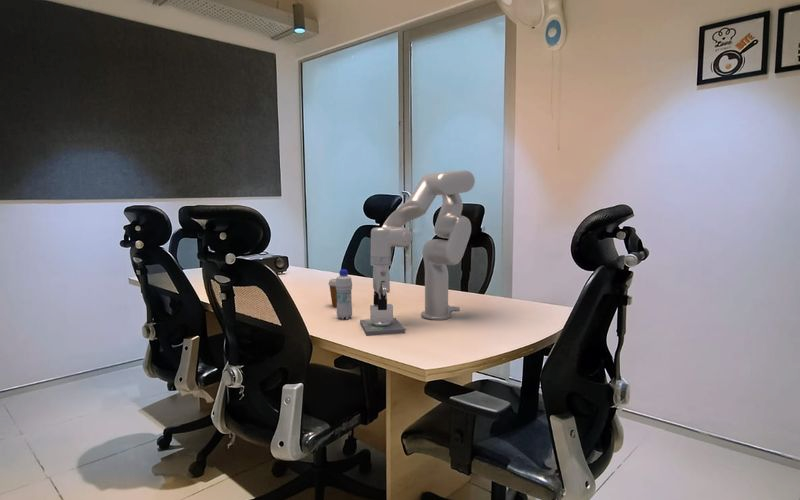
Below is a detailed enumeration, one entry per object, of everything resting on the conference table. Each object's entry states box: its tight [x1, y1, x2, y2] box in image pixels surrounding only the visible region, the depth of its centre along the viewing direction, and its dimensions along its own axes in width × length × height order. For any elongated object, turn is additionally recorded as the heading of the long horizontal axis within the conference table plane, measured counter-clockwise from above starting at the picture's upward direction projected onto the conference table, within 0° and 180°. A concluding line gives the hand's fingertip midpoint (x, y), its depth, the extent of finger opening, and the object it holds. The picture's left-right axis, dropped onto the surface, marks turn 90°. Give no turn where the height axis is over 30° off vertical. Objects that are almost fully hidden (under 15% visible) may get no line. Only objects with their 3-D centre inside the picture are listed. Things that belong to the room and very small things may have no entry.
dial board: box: [359, 317, 406, 336], centre depth 179 cm, size 14×17×2 cm
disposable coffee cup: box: [328, 278, 337, 309], centre depth 215 cm, size 10×10×12 cm
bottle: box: [335, 269, 353, 320], centre depth 193 cm, size 7×7×20 cm
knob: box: [363, 303, 394, 326], centre depth 178 cm, size 7×10×7 cm, turn 102°
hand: (380, 307), depth 178 cm, fingers open, 9 cm apart
